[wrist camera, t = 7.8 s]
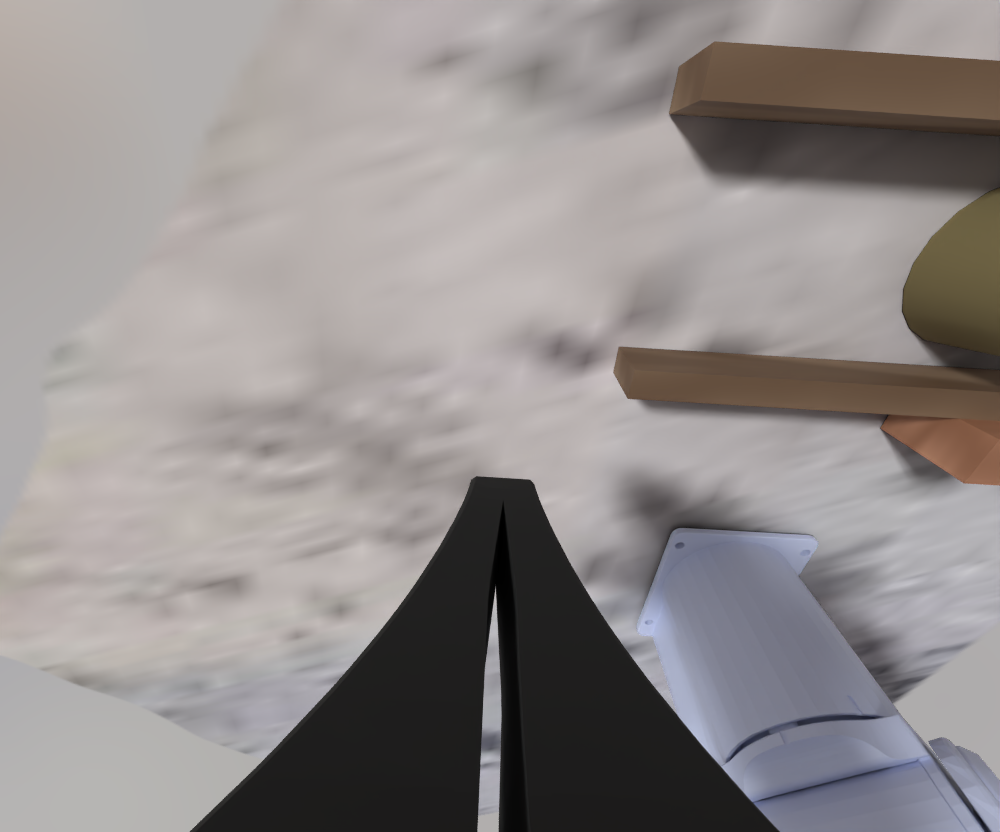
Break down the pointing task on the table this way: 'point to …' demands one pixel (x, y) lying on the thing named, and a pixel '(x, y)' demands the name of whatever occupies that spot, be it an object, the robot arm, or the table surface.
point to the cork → (959, 281)
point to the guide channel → (821, 382)
